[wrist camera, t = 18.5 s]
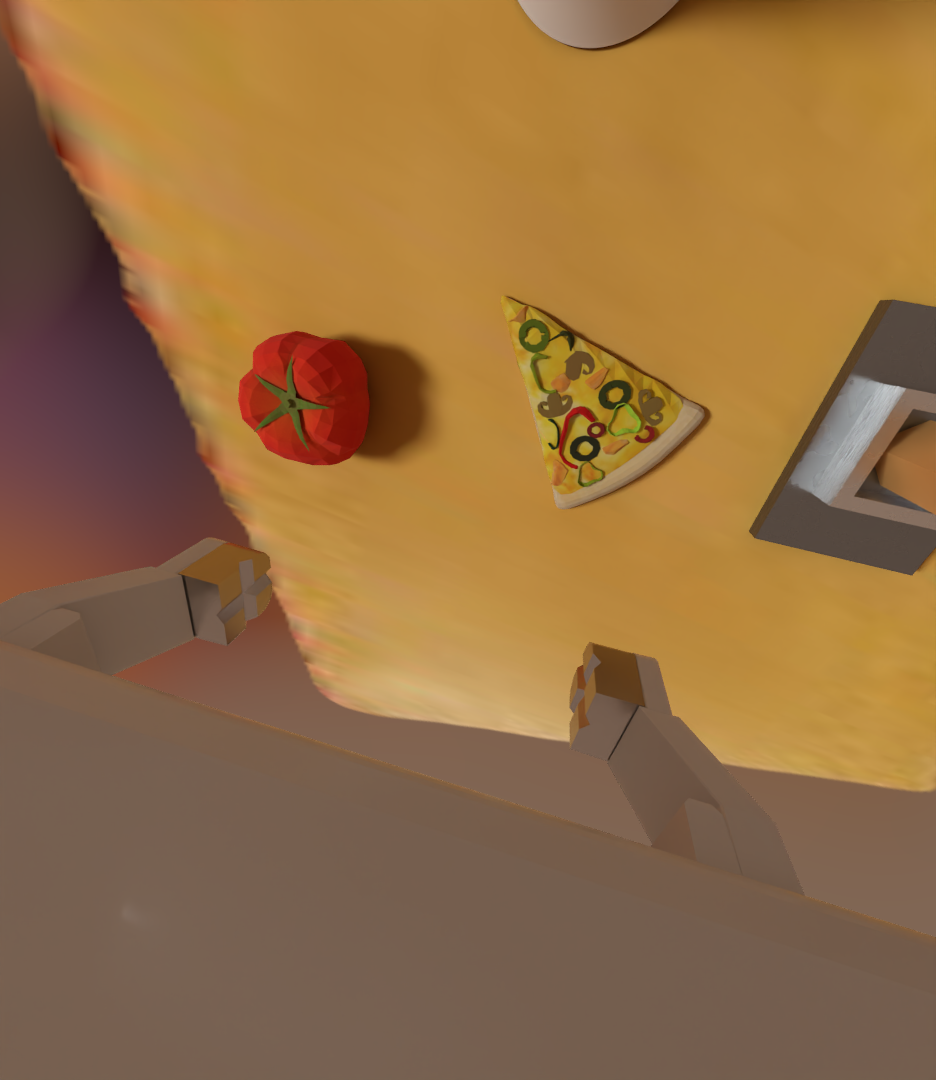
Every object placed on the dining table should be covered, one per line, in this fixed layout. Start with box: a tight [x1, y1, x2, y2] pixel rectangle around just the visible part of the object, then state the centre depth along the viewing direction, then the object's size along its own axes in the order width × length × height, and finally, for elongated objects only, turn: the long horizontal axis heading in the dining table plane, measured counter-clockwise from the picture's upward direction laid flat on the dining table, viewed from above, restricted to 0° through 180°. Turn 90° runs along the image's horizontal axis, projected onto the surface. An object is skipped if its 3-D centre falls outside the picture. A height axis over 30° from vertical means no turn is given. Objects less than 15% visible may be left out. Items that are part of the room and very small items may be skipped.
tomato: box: [238, 331, 370, 465], centre depth 40 cm, size 13×12×8 cm
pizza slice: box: [501, 296, 705, 509], centre depth 38 cm, size 16×21×3 cm
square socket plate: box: [749, 300, 936, 575], centre depth 34 cm, size 20×14×4 cm
